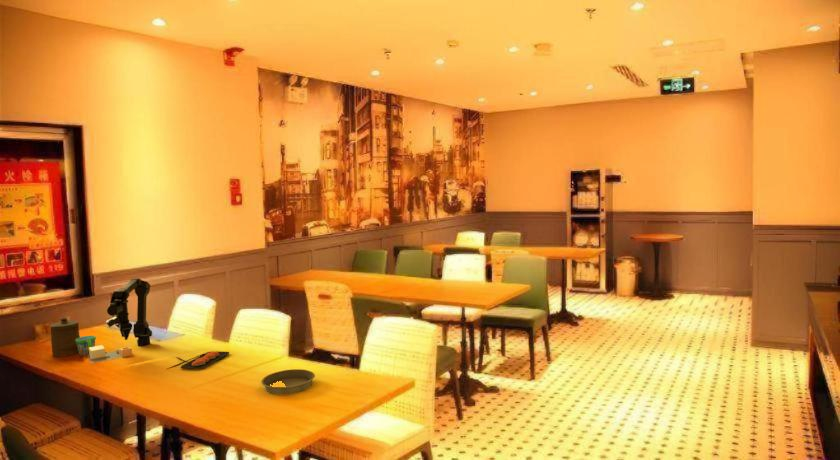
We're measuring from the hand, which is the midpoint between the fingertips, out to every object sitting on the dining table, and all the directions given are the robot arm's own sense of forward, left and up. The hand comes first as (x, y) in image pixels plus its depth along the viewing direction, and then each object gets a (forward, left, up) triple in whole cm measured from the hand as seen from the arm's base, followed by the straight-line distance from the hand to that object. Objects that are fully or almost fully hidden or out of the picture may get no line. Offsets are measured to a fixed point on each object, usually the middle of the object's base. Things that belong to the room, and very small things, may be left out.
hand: (124, 338), depth 335 cm
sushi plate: (-27, +38, -12) cm, 48 cm away
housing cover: (+14, -9, -10) cm, 19 cm away
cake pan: (-50, +113, -12) cm, 124 cm away
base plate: (+8, -6, -11) cm, 15 cm away
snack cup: (+17, -24, -11) cm, 31 cm away
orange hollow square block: (0, 0, -10) cm, 10 cm away
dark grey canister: (+26, -38, -11) cm, 47 cm away
